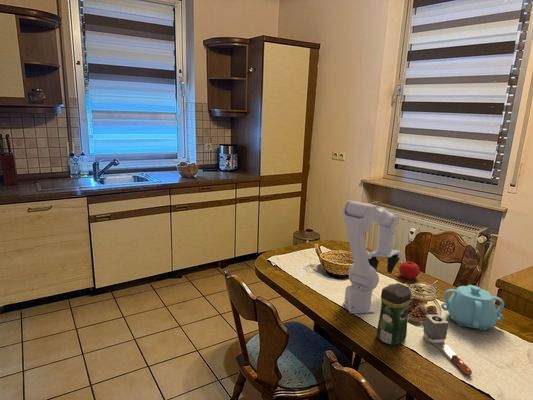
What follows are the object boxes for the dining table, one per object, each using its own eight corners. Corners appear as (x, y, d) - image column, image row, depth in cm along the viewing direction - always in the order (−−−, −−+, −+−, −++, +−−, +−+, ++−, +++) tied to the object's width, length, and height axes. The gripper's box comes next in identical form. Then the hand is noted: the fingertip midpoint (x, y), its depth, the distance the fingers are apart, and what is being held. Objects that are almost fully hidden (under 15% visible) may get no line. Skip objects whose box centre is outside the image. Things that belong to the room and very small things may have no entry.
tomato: (394, 276, 169) (396, 260, 167) (404, 271, 175) (406, 256, 173) (412, 283, 163) (414, 266, 161) (421, 278, 168) (424, 262, 166)
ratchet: (419, 334, 124) (421, 322, 123) (437, 333, 125) (438, 321, 124) (459, 377, 104) (462, 364, 103) (479, 376, 105) (482, 363, 104)
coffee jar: (388, 327, 128) (395, 278, 123) (409, 339, 121) (416, 287, 117) (371, 336, 122) (377, 285, 117) (392, 349, 116) (399, 295, 111)
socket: (431, 339, 119) (434, 323, 117) (423, 330, 123) (425, 314, 122) (445, 339, 119) (448, 322, 118) (436, 330, 124) (439, 314, 123)
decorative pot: (468, 307, 144) (474, 275, 141) (506, 330, 129) (513, 295, 126) (435, 313, 139) (440, 280, 136) (470, 337, 124) (477, 300, 121)
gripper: (375, 246, 140) (371, 279, 143) (406, 243, 145) (402, 275, 148) (365, 240, 147) (361, 271, 150) (395, 238, 151) (391, 268, 154)
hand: (381, 273), depth 149 cm, fingers open, 7 cm apart
